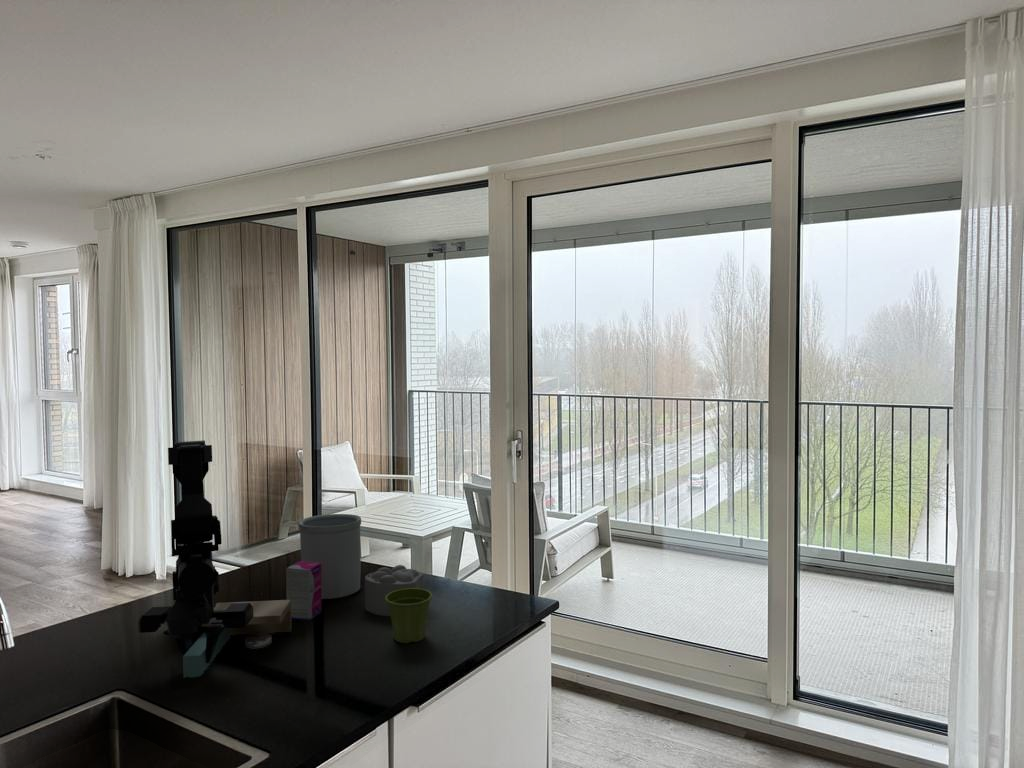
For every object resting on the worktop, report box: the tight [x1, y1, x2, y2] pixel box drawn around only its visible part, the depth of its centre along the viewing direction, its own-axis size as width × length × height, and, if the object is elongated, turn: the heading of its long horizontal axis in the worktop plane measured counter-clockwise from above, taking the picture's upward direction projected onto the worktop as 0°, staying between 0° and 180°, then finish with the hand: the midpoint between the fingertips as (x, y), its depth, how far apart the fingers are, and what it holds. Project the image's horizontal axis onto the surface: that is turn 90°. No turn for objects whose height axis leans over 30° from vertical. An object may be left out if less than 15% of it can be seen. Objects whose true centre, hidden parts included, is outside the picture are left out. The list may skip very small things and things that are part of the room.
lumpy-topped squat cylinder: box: [364, 564, 425, 617], centre depth 158 cm, size 10×13×9 cm
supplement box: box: [285, 560, 323, 622], centre depth 153 cm, size 6×6×12 cm
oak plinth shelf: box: [201, 599, 293, 636], centre depth 140 cm, size 15×9×6 cm, turn 95°
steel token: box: [244, 633, 273, 650], centre depth 139 cm, size 5×5×2 cm
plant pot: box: [385, 588, 433, 644], centre depth 141 cm, size 9×9×9 cm
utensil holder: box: [298, 513, 362, 600], centre depth 171 cm, size 15×15×18 cm
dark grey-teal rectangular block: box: [182, 628, 231, 679], centre depth 133 cm, size 3×17×4 cm, turn 6°
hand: (198, 663), depth 128 cm, fingers closed on dark grey-teal rectangular block, 3 cm apart
